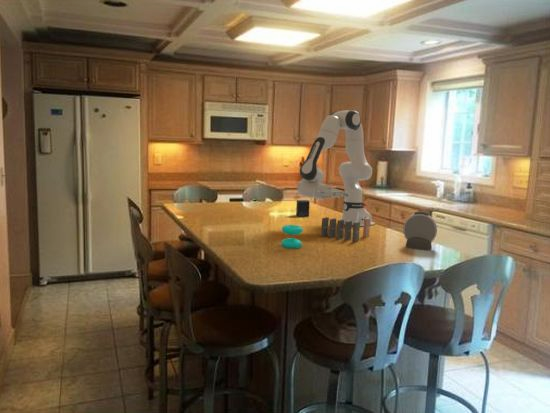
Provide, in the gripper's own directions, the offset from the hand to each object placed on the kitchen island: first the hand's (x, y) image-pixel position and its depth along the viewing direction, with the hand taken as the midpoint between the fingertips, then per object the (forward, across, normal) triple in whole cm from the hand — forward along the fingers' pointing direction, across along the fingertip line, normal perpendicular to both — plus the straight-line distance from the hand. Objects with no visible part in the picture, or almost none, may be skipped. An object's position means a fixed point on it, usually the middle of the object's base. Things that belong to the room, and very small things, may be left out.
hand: (346, 195), depth 267 cm
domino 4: (+10, -14, +22) cm, 28 cm away
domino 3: (+5, -14, +22) cm, 27 cm away
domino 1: (-4, -14, +23) cm, 27 cm away
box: (-43, +41, +21) cm, 63 cm away
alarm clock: (+45, -8, +19) cm, 50 cm away
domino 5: (+14, -15, +22) cm, 30 cm away
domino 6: (+15, +1, +20) cm, 25 cm away
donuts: (-6, -49, +26) cm, 55 cm away
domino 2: (+1, -14, +23) cm, 27 cm away
